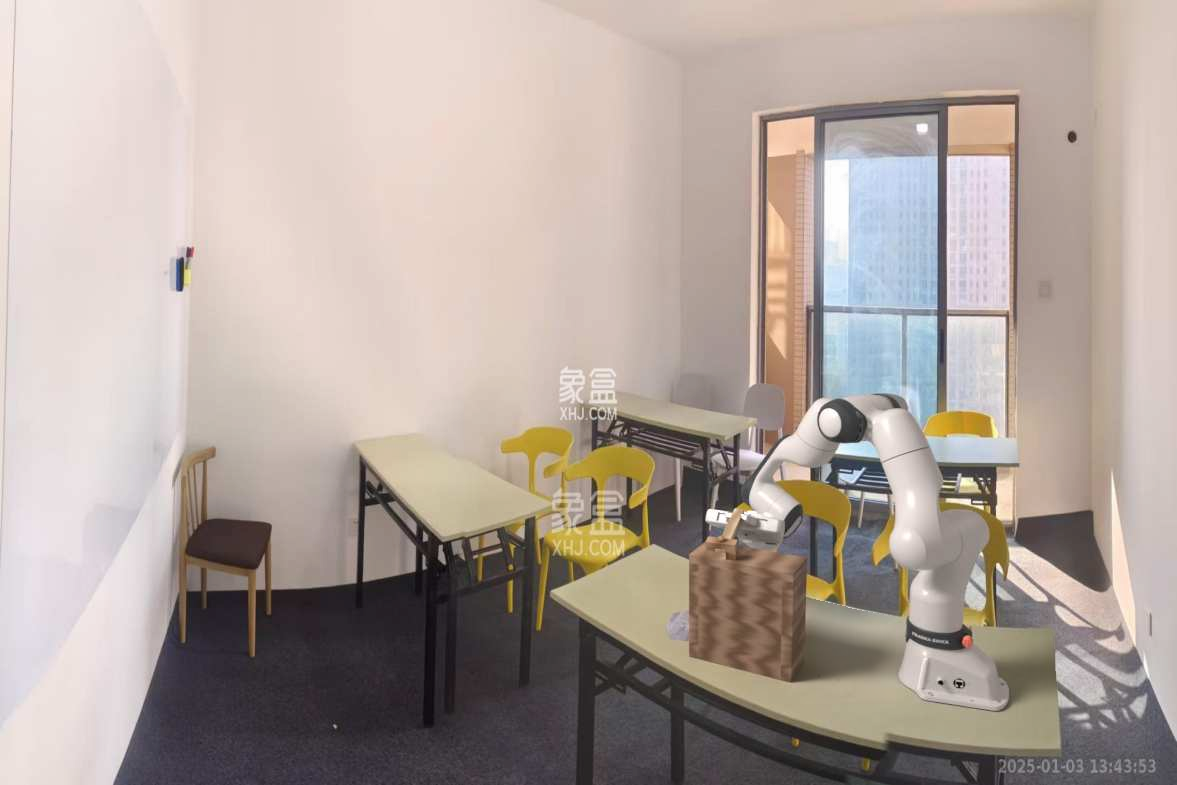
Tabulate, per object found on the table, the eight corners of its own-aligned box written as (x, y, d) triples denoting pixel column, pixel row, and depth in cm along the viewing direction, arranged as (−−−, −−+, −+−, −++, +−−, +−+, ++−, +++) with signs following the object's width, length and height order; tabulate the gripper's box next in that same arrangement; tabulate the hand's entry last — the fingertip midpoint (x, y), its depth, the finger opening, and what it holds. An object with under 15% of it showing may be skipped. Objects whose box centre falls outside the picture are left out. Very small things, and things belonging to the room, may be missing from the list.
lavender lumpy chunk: (667, 647, 199) (706, 643, 196) (663, 629, 198) (702, 624, 196) (673, 627, 210) (710, 623, 208) (670, 610, 210) (706, 606, 207)
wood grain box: (804, 661, 186) (807, 557, 182) (790, 682, 177) (793, 573, 173) (706, 637, 199) (706, 540, 195) (689, 656, 190) (689, 554, 186)
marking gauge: (753, 518, 198) (752, 500, 196) (735, 560, 181) (734, 542, 179) (726, 515, 201) (725, 498, 199) (706, 557, 184) (704, 538, 182)
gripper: (717, 510, 214) (700, 498, 202) (791, 522, 203) (777, 509, 192) (712, 533, 212) (695, 521, 200) (787, 546, 201) (773, 534, 190)
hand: (736, 515), depth 196 cm, fingers closed on marking gauge, 3 cm apart
